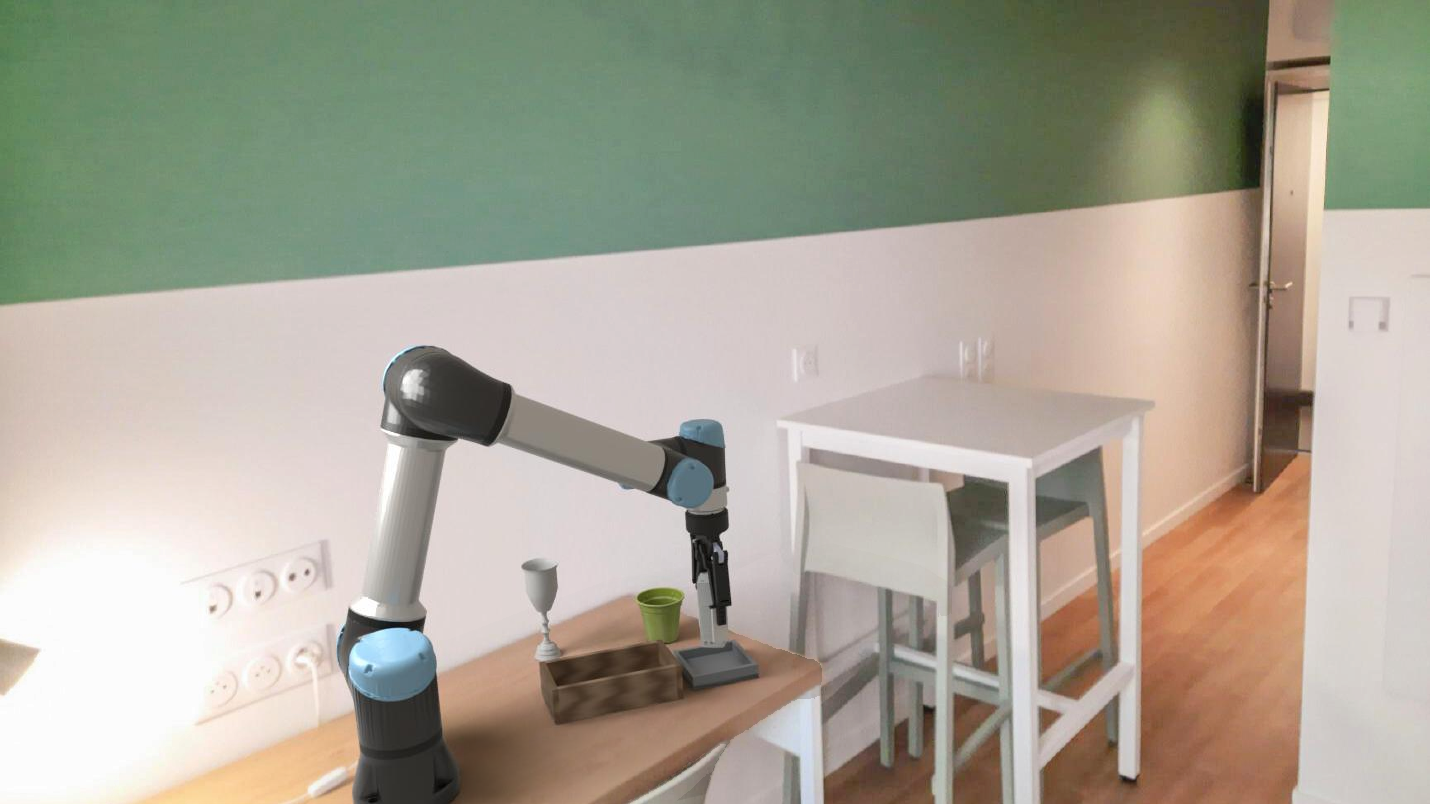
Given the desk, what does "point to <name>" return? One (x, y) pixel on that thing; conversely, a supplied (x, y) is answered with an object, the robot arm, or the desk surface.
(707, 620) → the skincare box
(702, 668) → the charcoal tray
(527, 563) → the chalice
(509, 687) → the desk surface
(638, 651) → the walnut box
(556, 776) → the desk surface
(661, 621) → the plant pot
